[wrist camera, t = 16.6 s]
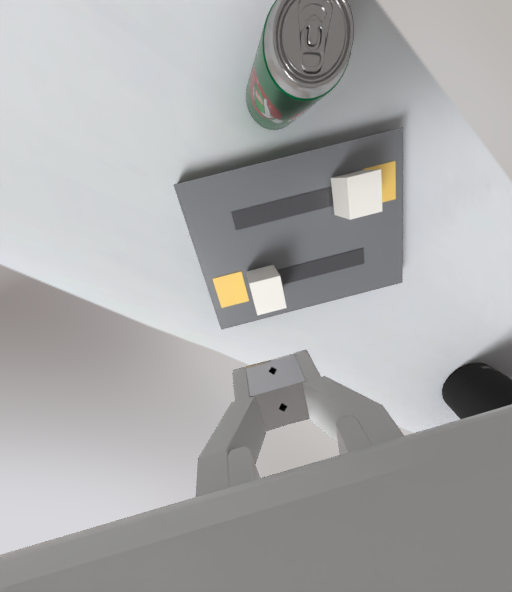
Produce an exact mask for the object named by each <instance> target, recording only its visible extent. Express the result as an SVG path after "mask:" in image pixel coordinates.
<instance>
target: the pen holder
mask: <svg viewBox="0 0 512 592" xmlns="http://www.w3.org/2000/svg"><path fill="white" fill-rule="evenodd" d="M442 395H443V399H444V401H445V402H446V404H447V405H448V406H449V407H450V408H451V409H452V410H453V411H454V412H455V413H456V415H457V416H458V417H459V418H460V419H464V418H467V417H471V416H474V415H477V414H481V413H484V412H488V411H491V410H494V409H498V408H501V407H505V406H508V405H511V404H512V380H511V379H510V378H508V377H507V376H505V375H503V374H502V373H500V372H499V371H497V370H495V369H494V368H492V367H490V366H488V365H486V364H479V363H475V364H469V365H466V366H464V367H462V368H460V369H458V370H456V371H455V372H454V373H453V374H452V375H451V376H450V377H449V378H448V379H447V380H446V382H445V384H444V386H443V390H442Z"/></svg>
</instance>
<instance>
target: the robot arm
mask: <svg viewBox="0 0 512 592" xmlns="http://www.w3.org/2000/svg"><path fill="white" fill-rule="evenodd" d="M232 374H233V384H234V395H235V402H232V403H231V404H230V406H229V407H228V409H227V411H226V413H225V414H224V416H223V418H222V419H221V421H220V423H219V424H218V426H217V428H216V429H215V431H214V433H213V434H212V436H211V438H210V439H209V441H208V443H207V444H206V446H205V448H204V449H203V451H202V453H201V454H200V456H199V458H198V469H197V486H196V497H195V498H192V499H188V500H185V501H182V502H178V503H175V504H171V505H168V506H165V507H161V508H158V509H154V510H151V511H148V512H144V513H141V514H137V515H134V516H131V517H127V518H124V519H121V520H117V521H114V522H110V523H107V524H104V525H100V526H97V527H93V528H90V529H87V530H83V531H80V532H76V533H73V534H69V535H66V536H63V537H59V538H56V539H53V540H49V541H46V542H42V543H39V544H36V545H32V546H29V547H25V548H22V549H19V550H15V551H12V552H8V553H5V554H2V555H0V592H512V404H511V405H508V406H505V407H501V408H498V409H494V410H491V411H488V412H484V413H481V414H477V415H474V416H471V417H467V418H464V419H460V420H457V421H454V422H450V423H447V424H443V425H440V426H436V427H433V428H430V429H426V430H423V431H419V432H416V433H413V434H409V435H406V436H404V435H403V433H402V432H401V430H400V429H399V428H398V426H397V425H396V424H395V422H394V421H393V419H392V418H391V417H390V415H389V414H388V412H387V411H386V410H385V408H384V407H383V405H381V404H379V403H377V402H375V401H373V400H371V399H369V398H367V397H365V396H363V395H361V394H359V393H357V392H355V391H353V390H351V389H349V388H347V387H345V386H343V385H341V384H339V383H337V382H335V381H334V380H332V379H330V378H328V377H326V376H323V377H321V376H320V374H319V372H318V370H317V368H316V366H315V365H314V363H313V361H312V359H311V357H310V355H309V353H308V351H307V350H302V351H299V352H296V353H294V354H290V355H287V356H283V357H280V358H276V359H273V360H269V361H265V362H261V363H257V364H253V365H249V366H246V367H243V368H239V369H235V370H233V373H232ZM307 419H310V420H311V421H312V422H313V423H315V424H316V425H317V426H318V427H319V428H321V429H322V430H323V431H324V432H325V433H327V434H328V435H329V436H330V437H331V438H333V439H334V440H335V441H336V442H338V446H339V453H340V455H338V456H335V457H331V458H328V459H325V460H321V461H318V462H314V463H311V464H307V465H304V466H301V467H297V468H294V469H291V470H287V471H284V472H280V473H277V474H273V475H270V476H267V477H263V478H260V476H259V473H258V471H257V468H256V465H255V464H256V461H257V458H258V455H259V452H260V449H261V446H262V443H263V440H264V437H265V434H266V431H269V430H272V429H275V428H278V427H281V426H284V425H287V424H291V423H295V422H299V421H303V420H307Z"/></svg>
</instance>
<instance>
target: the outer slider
mask: <svg viewBox="0 0 512 592" xmlns="http://www.w3.org/2000/svg"><path fill="white" fill-rule="evenodd" d="M246 274H247V278H248V282H249V285H250V289H251V293H252V297H253V301H254V305H255V308H256V312H257V316H258V315H261V314H265V313H269V312H273V311H277V310H281V309H285V308H287V307H286V302H285V297H284V292H283V287H282V282H281V277H280V275H279V273H278V271H277V270H276V268H275V266H274V265H270V266H266V267H262V268H258V269H254V270H250V271H246Z"/></svg>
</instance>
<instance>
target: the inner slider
mask: <svg viewBox="0 0 512 592" xmlns="http://www.w3.org/2000/svg"><path fill="white" fill-rule="evenodd" d="M331 185H332V195H333V205H334V215H336V216H340V217H343V218H346V219H349V220H351V219H355V218H359V217H363V216H367V215H371V214H375V213H378V212H382V178H381V169H376V170H361V171H357V172H353V173H349V174H345V175H341V176H337V177H333V178H331Z"/></svg>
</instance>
